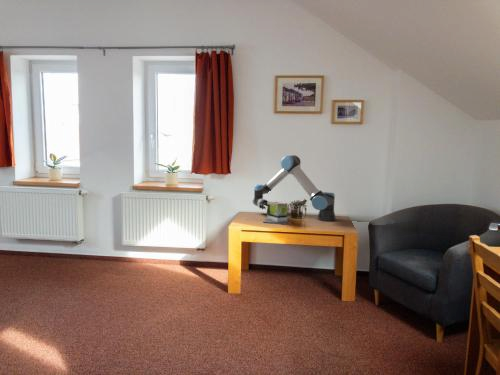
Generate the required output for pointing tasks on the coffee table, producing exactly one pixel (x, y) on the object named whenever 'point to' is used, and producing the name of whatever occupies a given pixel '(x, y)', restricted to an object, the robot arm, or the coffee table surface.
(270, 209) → the tea box
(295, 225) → the coffee table surface
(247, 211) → the coffee table surface
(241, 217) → the coffee table surface
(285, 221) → the rubber mat
